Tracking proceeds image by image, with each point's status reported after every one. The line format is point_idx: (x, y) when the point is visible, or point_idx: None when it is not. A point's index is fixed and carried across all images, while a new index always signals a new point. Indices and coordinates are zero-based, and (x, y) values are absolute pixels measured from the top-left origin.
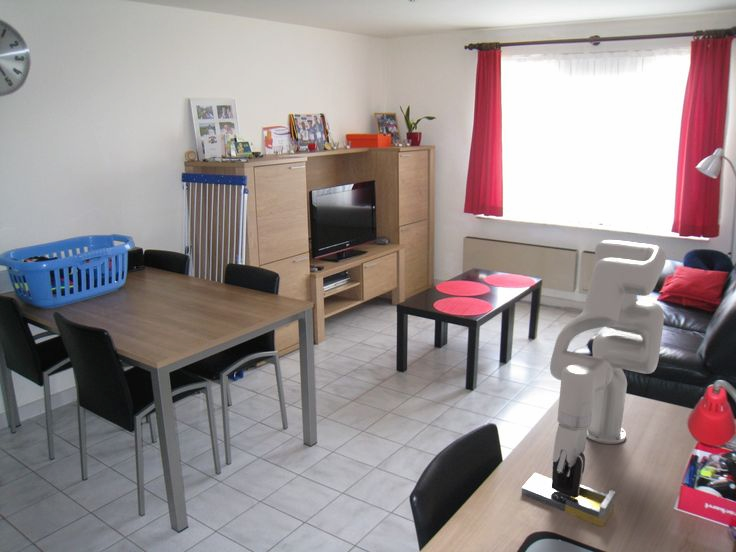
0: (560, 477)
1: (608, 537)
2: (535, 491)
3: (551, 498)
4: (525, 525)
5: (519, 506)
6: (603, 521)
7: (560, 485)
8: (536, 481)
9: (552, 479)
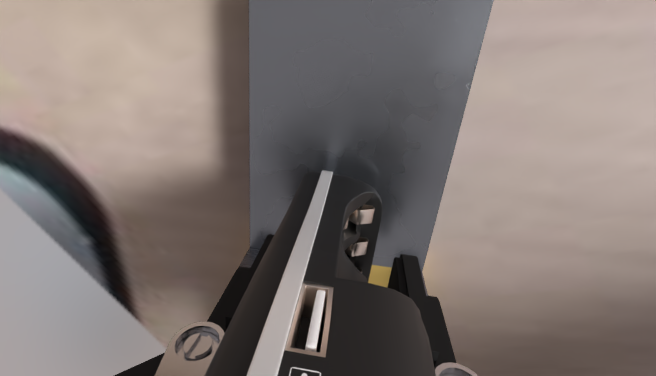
0: (213, 312)
1: None
2: (261, 76)
3: (255, 178)
4: (47, 97)
5: (152, 14)
6: None
7: (242, 268)
8: (378, 45)
9: (291, 204)
